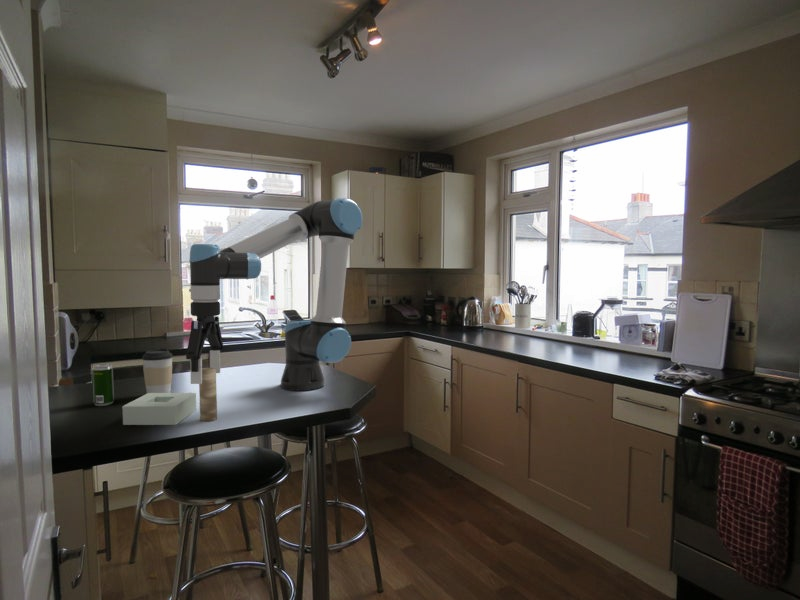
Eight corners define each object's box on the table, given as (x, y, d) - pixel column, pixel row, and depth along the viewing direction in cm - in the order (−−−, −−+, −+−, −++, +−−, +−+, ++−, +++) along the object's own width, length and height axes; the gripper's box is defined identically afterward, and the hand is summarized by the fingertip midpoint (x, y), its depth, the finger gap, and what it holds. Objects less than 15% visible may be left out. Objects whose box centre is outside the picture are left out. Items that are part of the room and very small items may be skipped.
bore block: (196, 409, 149) (195, 392, 149) (175, 424, 135) (174, 406, 135) (148, 409, 149) (148, 392, 149) (123, 424, 135) (122, 406, 135)
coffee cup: (161, 400, 160) (160, 353, 158) (136, 398, 161) (135, 352, 160) (179, 392, 168) (178, 348, 167) (155, 391, 170) (154, 347, 169)
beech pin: (219, 416, 143) (218, 367, 142) (213, 421, 138) (212, 370, 137) (203, 416, 143) (202, 367, 141) (197, 421, 138) (196, 371, 137)
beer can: (111, 405, 153) (109, 366, 153) (91, 406, 152) (89, 367, 151) (116, 400, 159) (114, 363, 158) (97, 402, 157) (95, 363, 156)
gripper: (208, 298, 150) (209, 368, 152) (171, 304, 125) (172, 388, 127) (234, 298, 150) (234, 369, 152) (201, 304, 125) (202, 388, 127)
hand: (206, 378), depth 139 cm, fingers open, 13 cm apart
